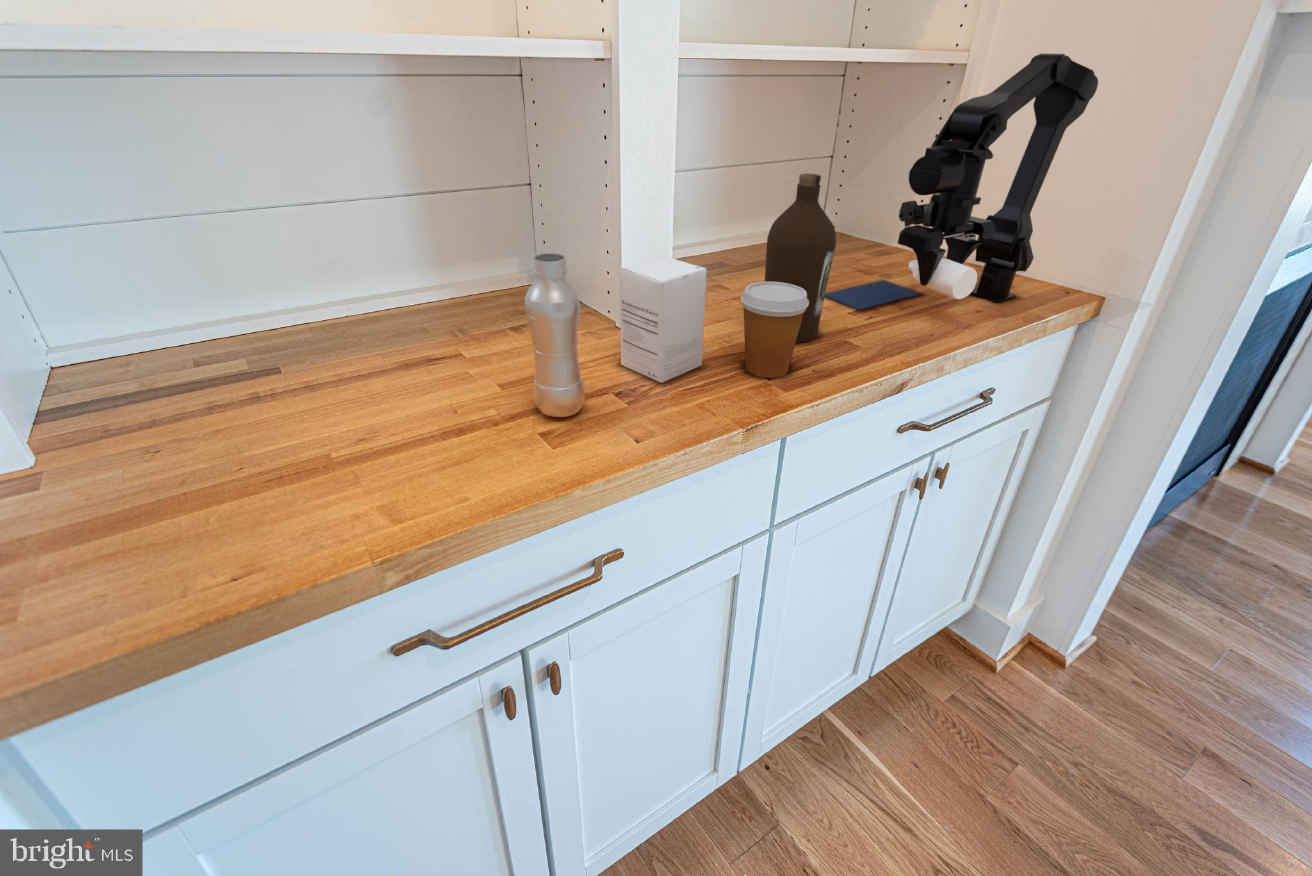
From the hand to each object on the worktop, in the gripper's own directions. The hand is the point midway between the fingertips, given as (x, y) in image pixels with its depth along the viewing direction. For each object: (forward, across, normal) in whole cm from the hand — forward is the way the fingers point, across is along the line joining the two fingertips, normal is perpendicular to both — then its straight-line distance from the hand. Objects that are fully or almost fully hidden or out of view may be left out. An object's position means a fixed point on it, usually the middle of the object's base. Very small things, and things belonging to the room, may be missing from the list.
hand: (935, 282), depth 113 cm
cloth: (+6, 0, -13) cm, 14 cm away
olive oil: (+6, +28, -6) cm, 29 cm away
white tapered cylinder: (+2, 0, 0) cm, 2 cm away
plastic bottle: (+6, +73, -1) cm, 73 cm away
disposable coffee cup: (+6, +41, +3) cm, 42 cm away
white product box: (+6, +54, -6) cm, 55 cm away
